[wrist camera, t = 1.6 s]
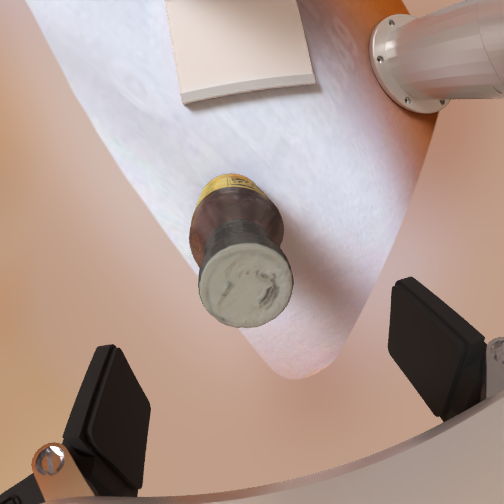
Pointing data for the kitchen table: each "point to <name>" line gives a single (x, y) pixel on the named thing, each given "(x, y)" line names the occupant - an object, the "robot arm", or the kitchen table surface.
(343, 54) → the kitchen table surface
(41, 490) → the robot arm
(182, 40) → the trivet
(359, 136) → the kitchen table surface
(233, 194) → the sauce bottle
